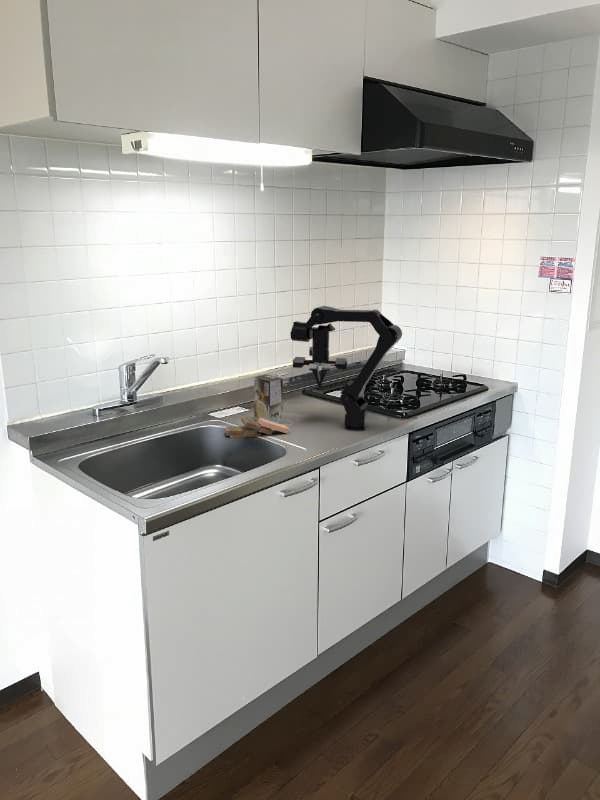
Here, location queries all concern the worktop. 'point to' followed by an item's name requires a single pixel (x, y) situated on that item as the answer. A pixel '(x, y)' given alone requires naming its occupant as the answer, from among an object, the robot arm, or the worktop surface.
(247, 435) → the walnut tile
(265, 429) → the walnut tile
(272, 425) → the tile
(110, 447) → the worktop surface
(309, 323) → the robot arm
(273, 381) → the coffee box
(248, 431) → the walnut tile
